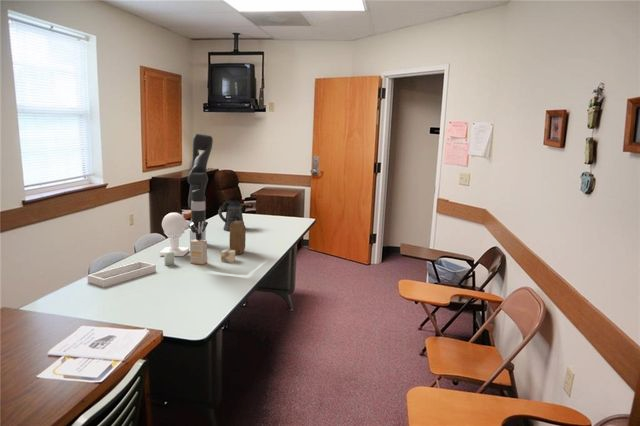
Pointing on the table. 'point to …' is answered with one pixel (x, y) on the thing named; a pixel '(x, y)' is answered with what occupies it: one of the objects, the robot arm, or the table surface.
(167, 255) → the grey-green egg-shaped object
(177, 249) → the trophy
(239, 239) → the block
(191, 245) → the supplement box
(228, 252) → the light wooden cube
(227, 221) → the beer stein
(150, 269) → the tray
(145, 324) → the table surface
